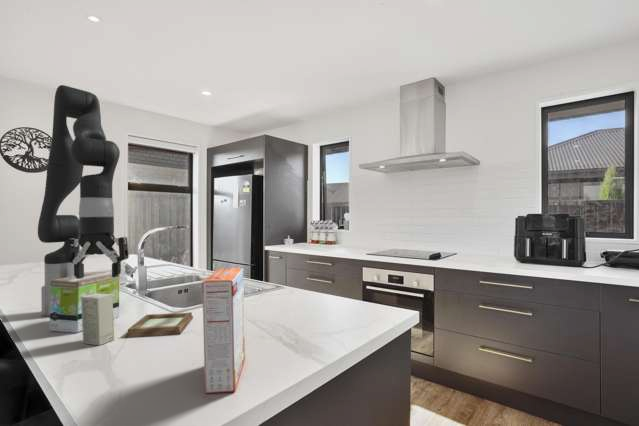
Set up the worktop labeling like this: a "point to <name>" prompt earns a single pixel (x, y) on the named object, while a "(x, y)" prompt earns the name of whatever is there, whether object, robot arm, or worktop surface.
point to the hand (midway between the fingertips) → (97, 277)
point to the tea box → (78, 299)
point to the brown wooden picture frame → (160, 324)
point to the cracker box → (223, 329)
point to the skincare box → (97, 318)
